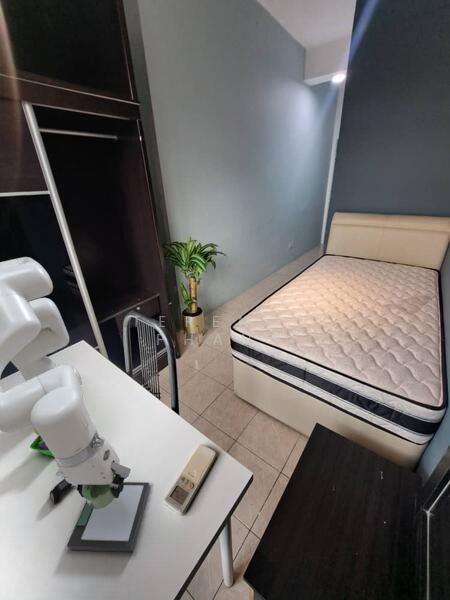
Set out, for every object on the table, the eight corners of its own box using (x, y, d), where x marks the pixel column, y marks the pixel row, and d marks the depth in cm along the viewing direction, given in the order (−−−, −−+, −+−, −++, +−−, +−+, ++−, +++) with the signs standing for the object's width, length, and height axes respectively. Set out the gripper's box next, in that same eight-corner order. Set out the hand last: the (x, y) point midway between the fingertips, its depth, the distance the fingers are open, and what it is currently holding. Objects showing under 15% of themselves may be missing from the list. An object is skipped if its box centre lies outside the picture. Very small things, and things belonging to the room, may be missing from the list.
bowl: (82, 510, 54) (75, 500, 52) (97, 475, 60) (92, 464, 58) (112, 511, 54) (106, 500, 51) (125, 475, 60) (120, 465, 58)
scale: (70, 549, 57) (65, 544, 56) (97, 485, 69) (94, 480, 67) (133, 551, 56) (130, 546, 55) (150, 486, 68) (148, 481, 66)
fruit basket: (55, 462, 75) (40, 439, 69) (32, 455, 77) (15, 433, 71) (82, 427, 84) (70, 405, 79) (61, 422, 86) (48, 401, 81)
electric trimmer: (110, 457, 75) (107, 451, 74) (55, 506, 65) (50, 500, 63) (103, 449, 78) (101, 443, 76) (49, 496, 67) (45, 489, 65)
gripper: (128, 426, 51) (145, 472, 59) (47, 425, 52) (76, 471, 60) (112, 465, 44) (134, 511, 53) (20, 464, 45) (56, 509, 54)
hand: (103, 489), depth 56 cm, fingers closed on bowl, 6 cm apart
